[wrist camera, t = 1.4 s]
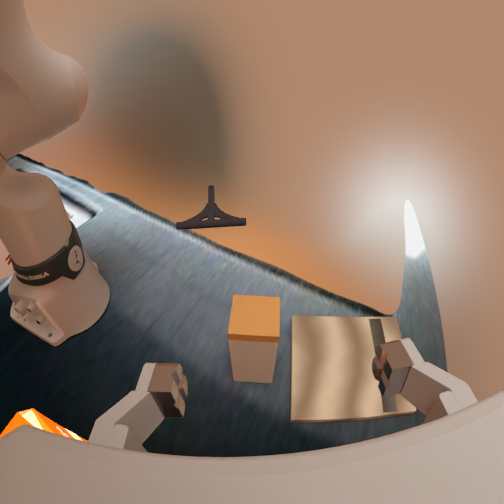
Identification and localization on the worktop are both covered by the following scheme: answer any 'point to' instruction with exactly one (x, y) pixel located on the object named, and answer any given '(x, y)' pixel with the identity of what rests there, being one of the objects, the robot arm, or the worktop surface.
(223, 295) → the worktop surface
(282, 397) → the worktop surface
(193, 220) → the bracket
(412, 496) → the robot arm
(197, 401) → the worktop surface
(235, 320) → the orange-capped beige carton
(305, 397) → the subfloor panel
